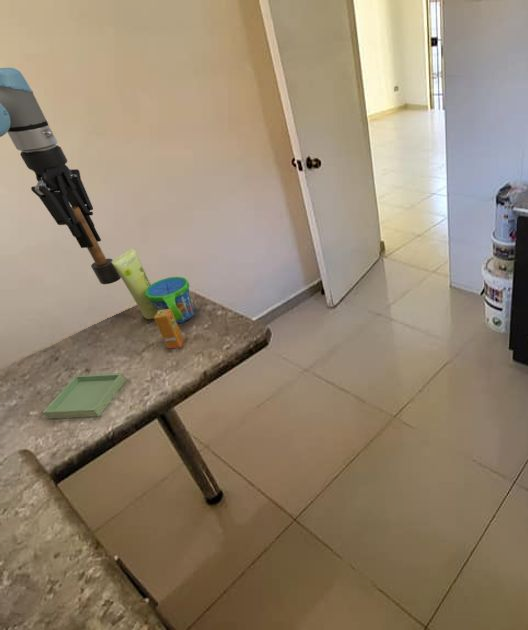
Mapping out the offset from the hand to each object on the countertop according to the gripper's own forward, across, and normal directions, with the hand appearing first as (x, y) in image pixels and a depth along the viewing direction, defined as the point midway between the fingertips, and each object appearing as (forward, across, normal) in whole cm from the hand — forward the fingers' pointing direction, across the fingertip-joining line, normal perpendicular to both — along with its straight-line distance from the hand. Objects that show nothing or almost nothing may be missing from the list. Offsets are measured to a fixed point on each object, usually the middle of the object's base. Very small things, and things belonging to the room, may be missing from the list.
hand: (91, 243), depth 110 cm
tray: (+23, -32, -7) cm, 40 cm away
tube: (+23, 0, -6) cm, 24 cm away
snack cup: (+23, -2, -15) cm, 28 cm away
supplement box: (+23, -14, -19) cm, 33 cm away
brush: (+11, 0, 0) cm, 11 cm away
